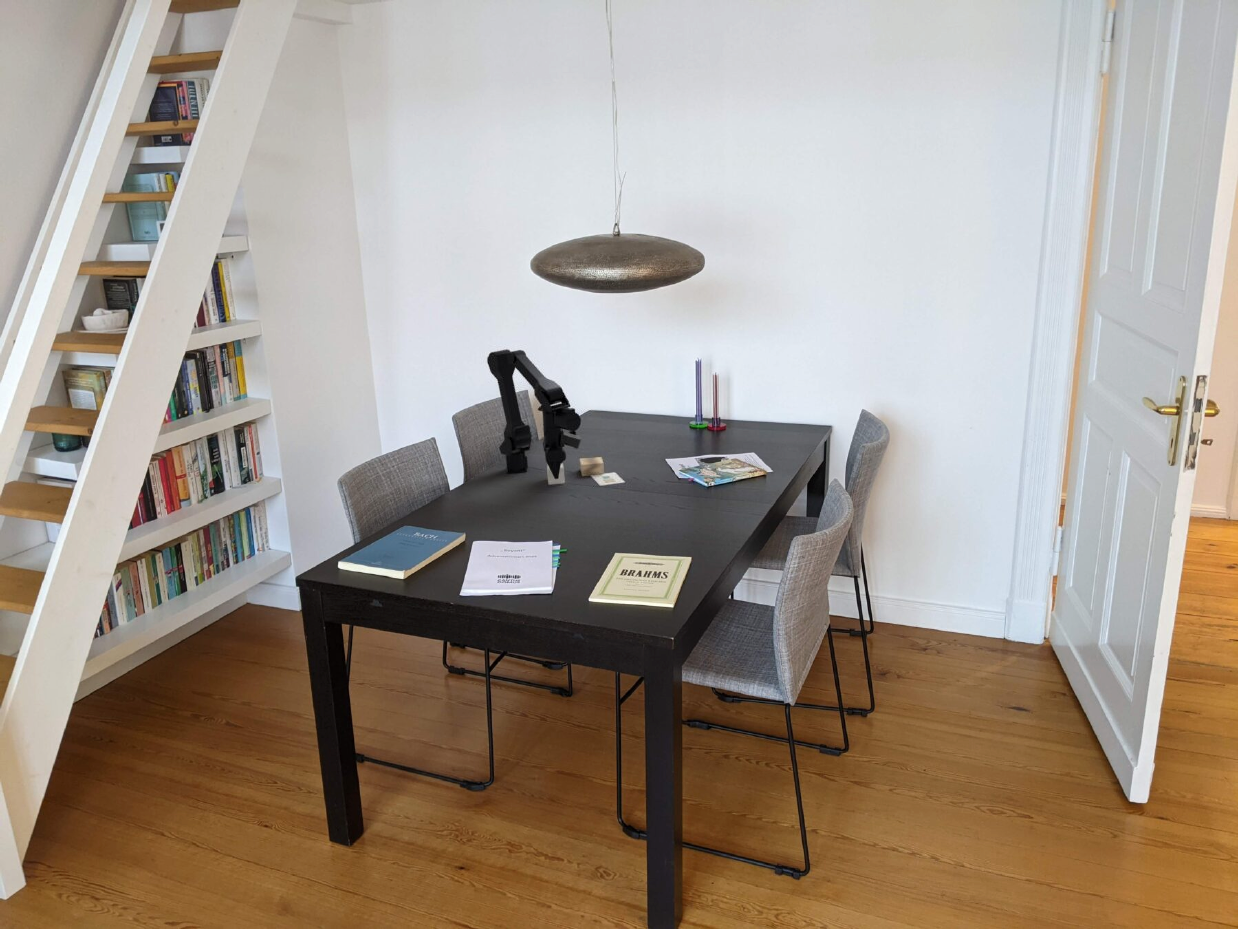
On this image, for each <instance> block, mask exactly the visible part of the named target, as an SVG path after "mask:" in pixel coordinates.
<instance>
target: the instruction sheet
mask: <svg viewBox="0 0 1238 929" xmlns="http://www.w3.org/2000/svg"><path fill="white" fill-rule="evenodd" d="M590 477H591V478H592V480H594V481H595V482H596V483H597V484H598V486H600V487H603V486H609V485H611V486H612V485H619V484H624V483H626V481H625V480H623V478H622V477H620V475H618V474H617V473H616V472H607V473H606V472H605V473H604V474H599V475H590Z"/></svg>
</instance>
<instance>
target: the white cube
mask: <svg viewBox="0 0 1238 929" xmlns="http://www.w3.org/2000/svg"><path fill="white" fill-rule="evenodd" d="M546 471H547V472H546V473H547V482H548V485H559V484H560V485H561V484H562V485H563V484H566V483H565V482H566V480H565V468H564V463H561V466H560V472H559V478H558V479H555V478H554V476H553V474H552V472H551V470H550V468H549V466H548V464H546Z"/></svg>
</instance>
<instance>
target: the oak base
mask: <svg viewBox="0 0 1238 929" xmlns="http://www.w3.org/2000/svg"><path fill="white" fill-rule="evenodd" d="M604 465H605V464H604V461H603V458H602V456H600V457H597V456H596V457H585V458H579V468H580V469H579V470H580V474H581V476H582V477H589V476H590V477H591V475H599V474H605V467H604Z"/></svg>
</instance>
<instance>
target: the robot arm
mask: <svg viewBox="0 0 1238 929" xmlns="http://www.w3.org/2000/svg"><path fill="white" fill-rule="evenodd" d="M486 358H487V359H486V362H487V365H488V369H489V371H490V373H491V374H492V375H493V377H494V378H495V379H496V381H497V384H498V389H499V394H500V400H501V404H502V407H503V408H502V409H503V413H504V417H505V423H506V424H505V426H504V427H505V428H504V430H503V437H504V438H503V439H504V440H503V441H502V443H501V444H500V445H499V447H498V448H499V452H500V454H501V455H504V456H505V462H506V467H505V468H506V474H515V473H526V472H527V471H528V468H529V463H528V455H527V454H526V452H527V451H530V450H531V449H530V448H531V443H532V437H533V435H532V433H531V426H530V425H529V424H525V422H524V421H523V419H522V414H521V411H520V410H521V409H520V405H519V401H518V397H517V396H518V395H517V393H516V387H515V382H514V377H513V376H514V373H515V370H517V371H518V372H519V374H520V375H521V376H522V378H524V379H525V380H526V382H527V383H528V384H529V385H530V386H531V388H533V391H534V397H535V398H536V400H537V401H538V403H539V404H540V406H538V408H537V411H539V412H541V413H542V426H543V428H542V433H543V439H542V447H543V451H544V458H545V462H546V465H548V466H549V468H550V470H551V472H552V474H553V476H554V478H555V479H558V478H559V472H560V466H561V464H563V462H564V461H566V460H567V453H566V450H565V449H564V448H565V447H566V446H567V447H572V448H573V449H576V450H579V447H580V444H581V442H582V437H581V436H580V435H579V434H577V430H578V429H579V428H580V426H581V423H582V419H581V416H580V415H579V413H578V412H576V409H575V408H574V407H571V404H570V400H568V398H567V396H566V394H565V392H564V390H563V388H562V387H561V386H560V385H559V384H558V383H557V382H555V381H554V380H552V379H549V378H547V377H546V376H545V375H544V374H543V373H542V372H541V371H540V370H539V368H538V367H537V366H536V365H535V364H534V363H533V362H532V361H531V360H530V359H529V357H528V356H527V354H526V352H525V350H522V349H517V350H512V351H511V350H510V349H507V348H506V349H501V350H496V351H491V352H490V353H489V354H488V356H487V357H486ZM564 430H566V431H564Z"/></svg>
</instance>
